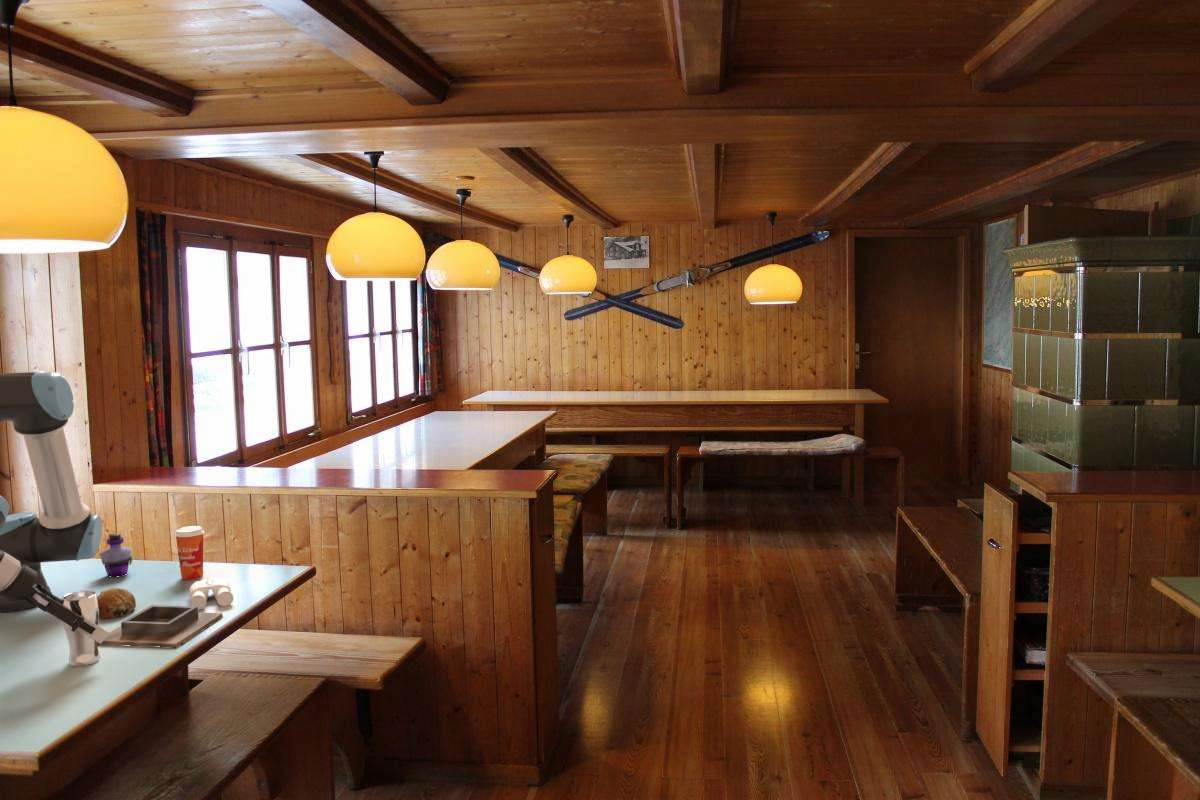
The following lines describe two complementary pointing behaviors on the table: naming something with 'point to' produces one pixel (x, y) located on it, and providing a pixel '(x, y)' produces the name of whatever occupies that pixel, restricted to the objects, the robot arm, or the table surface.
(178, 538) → the paper cup
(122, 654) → the table surface
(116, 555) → the potion bottle
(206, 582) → the binoculars
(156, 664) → the table surface
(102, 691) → the table surface
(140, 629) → the holder board
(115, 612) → the bread roll
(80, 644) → the beer glass
